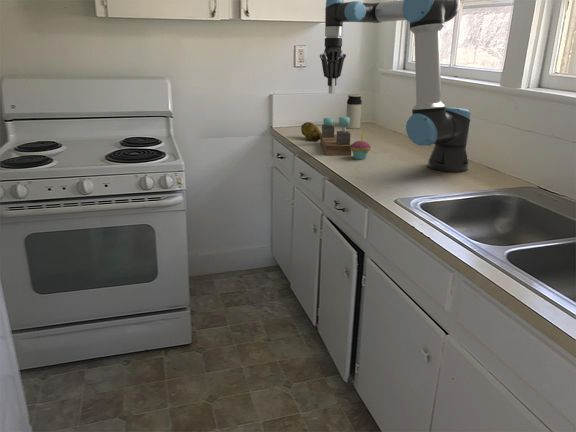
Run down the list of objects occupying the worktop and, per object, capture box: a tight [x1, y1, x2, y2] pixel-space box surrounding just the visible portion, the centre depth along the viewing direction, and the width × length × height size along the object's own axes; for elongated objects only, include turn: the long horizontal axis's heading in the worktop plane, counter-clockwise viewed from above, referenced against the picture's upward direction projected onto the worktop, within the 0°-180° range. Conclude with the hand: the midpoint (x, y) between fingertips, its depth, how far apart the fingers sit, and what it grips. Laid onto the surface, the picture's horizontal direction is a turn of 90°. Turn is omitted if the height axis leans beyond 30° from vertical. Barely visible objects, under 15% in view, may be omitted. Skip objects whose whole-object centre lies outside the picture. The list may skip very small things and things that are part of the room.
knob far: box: [322, 117, 334, 126], centre depth 222 cm, size 5×5×8 cm
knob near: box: [338, 116, 350, 133], centre depth 207 cm, size 5×5×8 cm
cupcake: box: [350, 128, 371, 160], centre depth 199 cm, size 9×8×12 cm
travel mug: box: [345, 93, 363, 130], centre depth 266 cm, size 8×8×18 cm
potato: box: [300, 121, 322, 142], centre depth 236 cm, size 8×13×8 cm, turn 15°
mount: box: [319, 124, 352, 156], centre depth 216 cm, size 26×11×9 cm, turn 1°
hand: (331, 93), depth 215 cm, fingers closed
